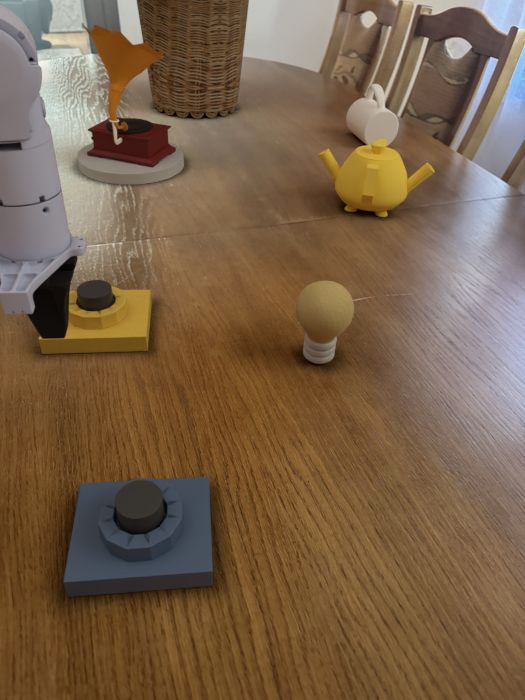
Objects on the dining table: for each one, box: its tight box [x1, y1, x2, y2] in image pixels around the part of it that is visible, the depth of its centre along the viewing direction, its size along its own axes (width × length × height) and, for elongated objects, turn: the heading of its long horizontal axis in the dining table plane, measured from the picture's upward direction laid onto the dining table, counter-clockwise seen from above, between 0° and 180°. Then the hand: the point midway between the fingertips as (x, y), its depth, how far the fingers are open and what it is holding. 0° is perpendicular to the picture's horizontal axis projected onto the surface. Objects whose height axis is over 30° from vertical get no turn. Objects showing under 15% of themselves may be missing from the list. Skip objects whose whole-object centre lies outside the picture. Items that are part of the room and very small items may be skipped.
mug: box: [345, 83, 400, 147], centre depth 124 cm, size 8×10×12 cm
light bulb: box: [295, 280, 355, 365], centre depth 63 cm, size 6×6×10 cm
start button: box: [115, 480, 164, 534], centre depth 44 cm, size 4×4×2 cm
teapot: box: [318, 139, 436, 218], centre depth 97 cm, size 20×18×11 cm
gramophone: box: [76, 24, 185, 186], centre depth 103 cm, size 20×20×25 cm
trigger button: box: [75, 279, 114, 311], centre depth 66 cm, size 4×4×2 cm
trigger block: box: [37, 285, 153, 355], centre depth 68 cm, size 12×10×4 cm
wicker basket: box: [136, 0, 250, 120], centre depth 133 cm, size 35×35×33 cm
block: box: [62, 476, 214, 598], centre depth 45 cm, size 11×9×4 cm
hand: (54, 334), depth 51 cm, fingers closed
